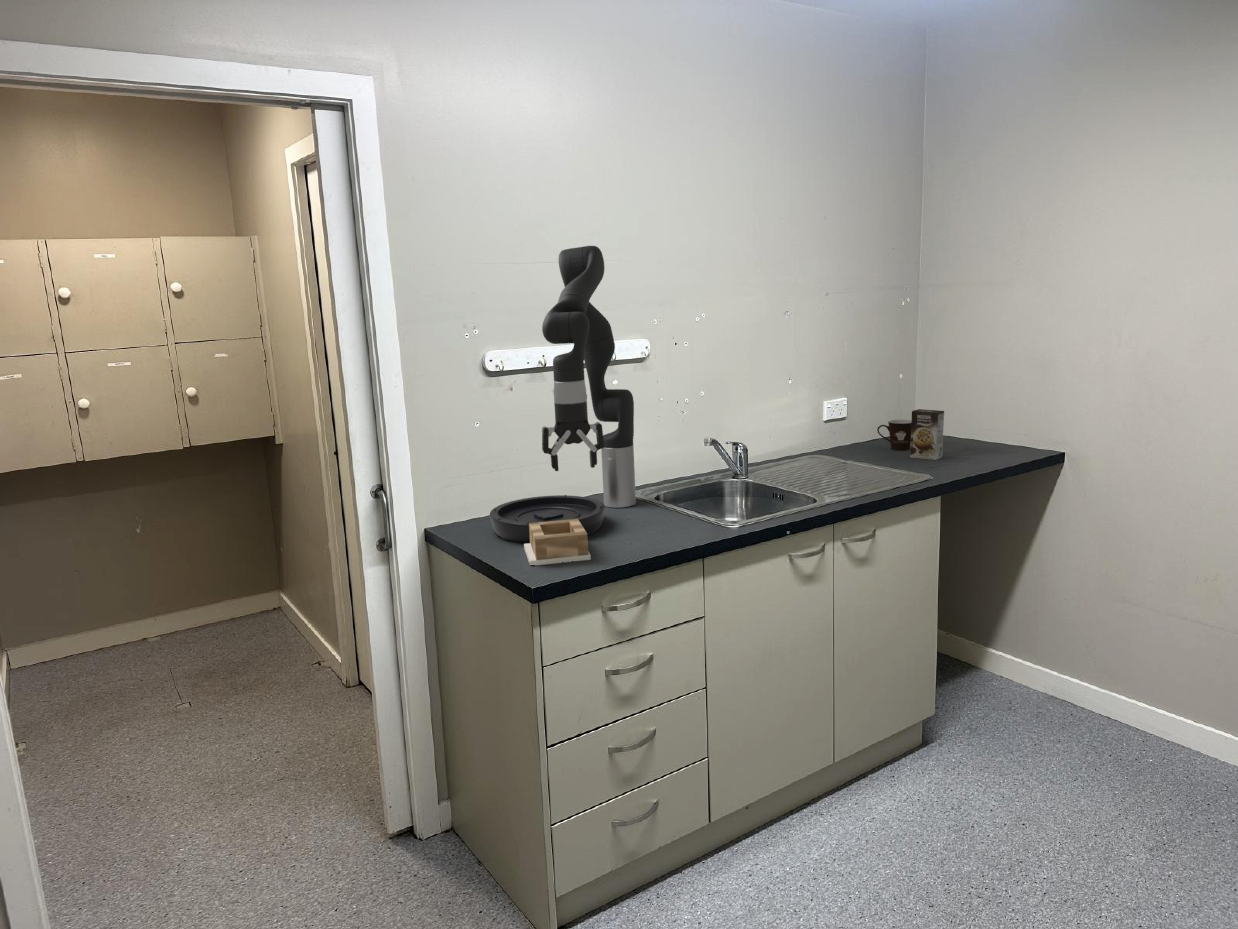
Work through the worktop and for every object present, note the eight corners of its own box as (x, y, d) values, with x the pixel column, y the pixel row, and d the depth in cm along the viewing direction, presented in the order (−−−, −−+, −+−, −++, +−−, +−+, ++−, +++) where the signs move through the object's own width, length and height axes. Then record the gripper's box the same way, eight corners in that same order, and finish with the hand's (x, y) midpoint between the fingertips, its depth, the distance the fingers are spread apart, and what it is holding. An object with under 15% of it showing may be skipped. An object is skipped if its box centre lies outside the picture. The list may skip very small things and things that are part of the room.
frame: (530, 543, 207) (528, 523, 206) (578, 538, 209) (577, 518, 208) (536, 560, 194) (535, 539, 193) (588, 554, 196) (587, 533, 195)
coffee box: (909, 457, 291) (910, 411, 288) (916, 454, 296) (917, 408, 292) (936, 460, 285) (937, 412, 282) (943, 457, 290) (944, 410, 287)
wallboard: (524, 548, 207) (522, 530, 206) (580, 542, 210) (580, 525, 209) (530, 566, 194) (529, 547, 193) (590, 559, 196) (589, 540, 195)
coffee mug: (916, 448, 307) (917, 420, 305) (906, 452, 300) (907, 424, 298) (886, 445, 314) (886, 418, 312) (875, 449, 308) (876, 421, 306)
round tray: (564, 508, 245) (470, 530, 227) (563, 488, 243) (469, 508, 226) (628, 529, 221) (529, 554, 204) (627, 506, 220) (528, 530, 202)
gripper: (597, 395, 201) (601, 463, 204) (537, 400, 198) (542, 468, 201) (603, 399, 194) (607, 469, 197) (541, 404, 191) (546, 474, 194)
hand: (574, 468), depth 199 cm, fingers open, 8 cm apart
